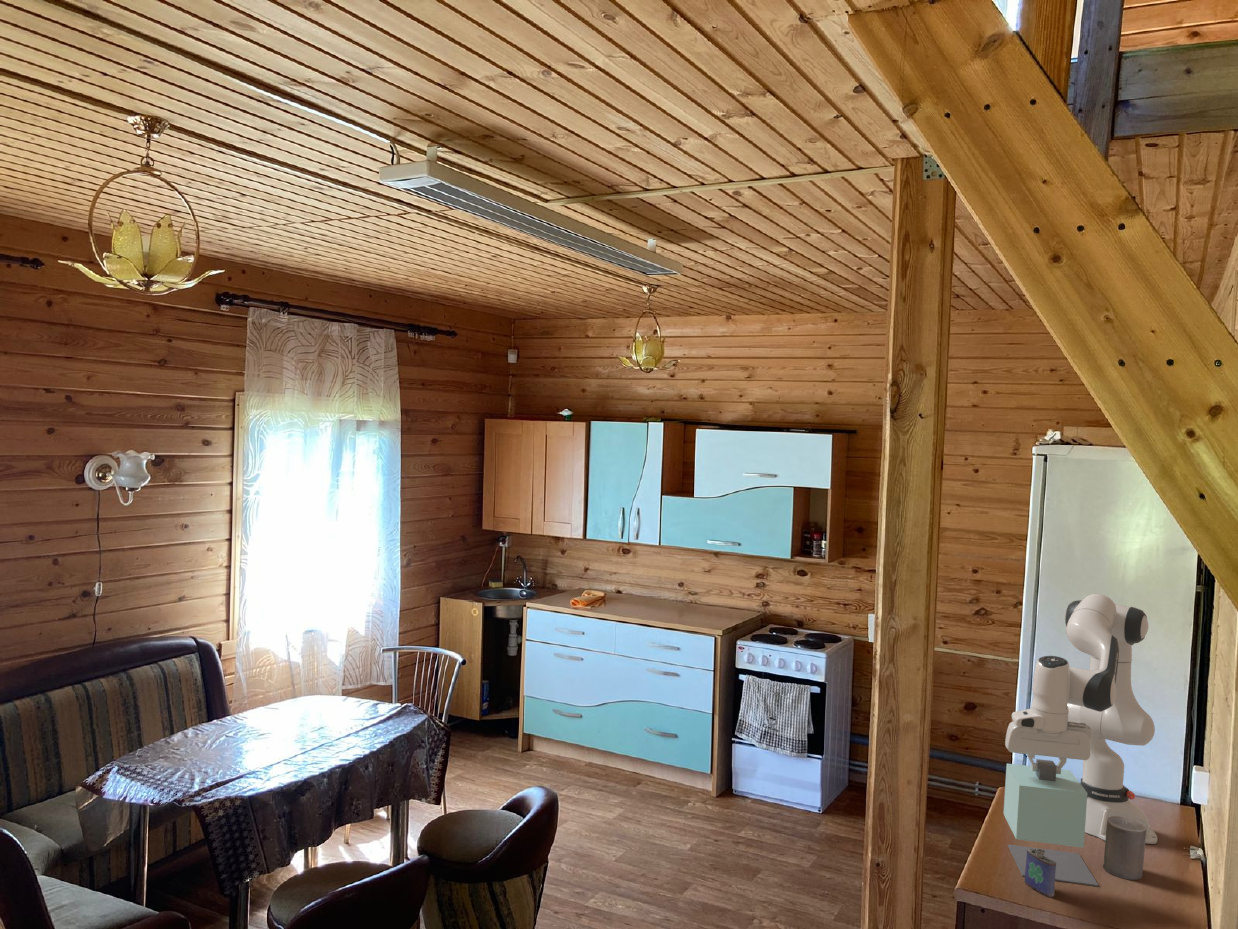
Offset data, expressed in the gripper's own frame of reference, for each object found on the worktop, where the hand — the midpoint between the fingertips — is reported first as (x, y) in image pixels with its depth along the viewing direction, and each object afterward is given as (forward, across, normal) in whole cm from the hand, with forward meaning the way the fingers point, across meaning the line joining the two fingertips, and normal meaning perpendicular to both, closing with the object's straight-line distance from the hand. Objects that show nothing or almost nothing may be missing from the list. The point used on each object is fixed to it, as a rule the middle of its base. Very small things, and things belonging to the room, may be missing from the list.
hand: (1045, 772), depth 242 cm
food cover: (+15, 0, 0) cm, 15 cm away
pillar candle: (+32, -26, -18) cm, 45 cm away
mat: (+31, -7, -16) cm, 36 cm away
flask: (+32, 0, 0) cm, 32 cm away
